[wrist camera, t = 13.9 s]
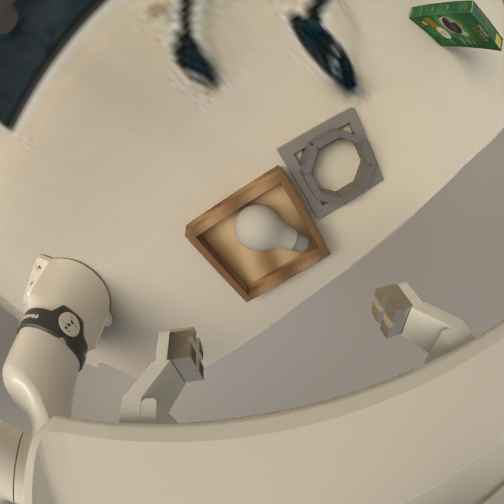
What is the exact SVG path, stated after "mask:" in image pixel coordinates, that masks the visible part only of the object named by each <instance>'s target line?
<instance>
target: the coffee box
mask: <svg viewBox="0 0 504 504" xmlns="http://www.w3.org/2000/svg"><path fill="white" fill-rule="evenodd" d="M409 18H410V19H412V20H413V21H414V22H415V23H416V24H417V25H419V26H420V27H421V28H423V29H424V30H425V31H426V32H427V33H428V34H429V35H431V36H432V37H433V38H434V39H435V40H436V41H437V42H438V43H439V44H440V45H441V46H460V47H473V48H484V49H492V50H499V51H501V49H502V42H503V38H502V37H501V36H500V34H499V33H498V31H497V30H496V29H495V27H494V26H493V25H492V23H491V22H490V21H489V19H488V18H487V17H486V16H485V14H484V13H483V12H482V11H481V9H480V8H479V7H478V6H477V5H476V3H475V2H474V1H473V0H467V1H453V2H444V3H436V4H428V5H423V6H417V7H412V9H411V12H410V14H409Z"/></svg>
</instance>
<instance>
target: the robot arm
mask: <svg viewBox="0 0 504 504" xmlns="http://www.w3.org/2000/svg"><path fill="white" fill-rule="evenodd" d="M375 297H376V299H375V300H374V301H373V305H372V312H373V315H374V318H375V320H376V321H377V322H379V323H381V327H380V329H381V330H382V332H383V334H384V336H385V337H386V338H389V337H392V336H396V335H399V334H402V335H403V336H404V337H405V338H407V339H409V340H410V341H411V342H413V343H414V344H416V345H417V346H419V347H420V348H421V349H423V350H424V351H426V352H427V353H428V354H429V355H428V356H427V358H426V360H425V362H424V365H422V366H420V367H417V368H415V369H413V370H410V371H408V372H406V373H403V374H401V375H399V376H396V377H393V378H391V379H389V380H386V381H383V382H380V383H378V384H375V385H372V386H370V387H367V388H363V389H360V390H358V391H354V392H351V393H348V394H345V395H342V396H338V397H335V398H331V399H328V400H324V401H320V402H316V403H312V404H308V405H304V406H300V407H296V408H291V409H286V410H281V411H276V412H271V413H265V414H260V415H253V416H247V417H240V418H232V419H224V420H214V421H203V422H189V423H178V422H177V421H176V420H175V419H174V418H173V417H172V416H171V415H170V414H169V413H168V412H169V411H170V409H171V407H172V405H173V404H174V402H175V400H176V399H177V397H178V395H179V393H180V392H181V390H182V388H183V387H184V385H185V382H190V381H197V380H203V379H204V378H203V376H204V375H203V365H202V363H201V361H202V360H203V350H202V345H201V342H200V340H199V338H197V337H196V331H195V329H194V327H190V328H181V329H172V330H164V331H160V332H159V335H158V342H157V350H156V357H155V361H152V362H151V363H150V365H149V366H148V367H147V368H146V370H145V371H144V372H143V373H142V374H141V376H140V377H139V378H138V379H137V381H136V382H135V383H134V384H133V386H132V387H131V388H130V389H129V391H128V392H127V393H126V394H125V395H124V397H123V399H122V406H121V413H120V421H119V423H117V422H103V421H93V420H84V419H76V418H72V403H73V394H74V388H75V384H76V379H77V375H78V372H79V371H80V370H81V369H82V367H83V365H84V363H85V360H86V355H87V351H90V350H92V349H95V348H96V346H97V343H98V341H99V338H100V336H101V333H102V331H103V328H105V327H108V326H110V325H111V324H112V322H113V318H112V315H111V313H110V311H109V306H110V298H109V293H108V291H107V288H106V287H105V285H104V283H103V282H102V280H101V279H100V278H99V277H98V276H97V275H96V274H95V273H94V272H93V271H92V270H91V269H89V268H88V267H86V266H85V265H83V264H81V263H79V262H77V261H74V260H70V259H52V258H49V257H47V256H44V255H39V256H38V257H37V259H36V261H35V264H34V267H33V269H32V272H31V275H30V278H29V281H28V284H27V287H26V290H25V293H24V296H23V303H24V305H25V309H24V313H23V317H22V319H21V321H20V323H19V327H18V329H17V337H16V339H15V341H14V343H13V346H12V348H11V350H10V352H9V354H8V357H7V359H6V361H5V364H4V367H3V381H4V384H5V387H6V389H7V391H8V392H9V394H10V395H11V397H12V398H13V400H14V401H15V402H16V404H17V405H18V406H19V407H20V408H21V410H22V411H23V412H24V413H25V414H26V416H27V417H28V419H29V421H30V424H31V427H32V429H31V431H30V432H29V433H27V432H23V431H21V430H19V429H17V428H16V427H13V426H12V425H10V424H8V423H7V422H5V421H3V420H2V419H0V504H504V320H503V321H501V322H500V323H498V324H497V325H495V326H494V327H492V328H490V329H489V330H487V331H486V332H484V333H483V334H481V335H479V336H477V337H476V338H475V337H474V336H473V334H472V333H471V332H470V330H469V329H468V328H467V326H466V325H465V323H464V322H463V321H462V320H460V319H458V318H456V317H454V316H452V315H450V314H448V313H446V312H444V311H442V310H440V309H438V308H436V307H434V306H432V305H430V304H428V303H425V302H424V303H422V302H421V300H420V299H419V298H418V296H417V295H416V294H415V292H414V291H413V290H412V289H411V287H410V286H409V285H408V284H407V282H405V281H402V282H398V283H395V284H391V285H388V286H385V287H381V288H377V289H376V291H375Z"/></svg>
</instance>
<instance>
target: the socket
mask: <svg viewBox="0 0 504 504" xmlns="http://www.w3.org/2000/svg"><path fill="white" fill-rule="evenodd" d="M347 123H348V125H349V127H350V129H351V131H352V133H350V132H347V131H344V130H341V129H338V128H340V127H342V126H344V125H346V124H347ZM339 137H341V138H344V139H347V140H350V141H353V143H354V145H355V147H356V150H357V152H358V154H359V157H360V159H361V162H360V165H359V168H358V171H357V174H356V176H355V179H354V181H353V182H351V183H349V184H348V185H346V186H344V187H343V188H341V189H340V190H338V191H336V192H335V191H330V190H326V189H322V188H319V187H318V185H317V183H316V182H315V180H314V178H313V176H312V174H311V172H312V169H313V165H314V162H315V159H316V155H317V152H318V149H320V148H321V147H323V146H325V145H327V144H328V143H330V142H332V141H334V140H335V139H337V138H339ZM301 149H303V152H302V155H301V159H300V162H298V161H297V159H296V157H295V155H294V154H295V153H296V152H298V151H300V150H301ZM277 151H278V152H279V154H280V155H281V157H282V159H283V160H284V162H285V164H286V165H287V167H288V168H289V170H290V172H291V173H292V175H293V177H294V179H295V180H296V182H297V184H298V185H299V187H300V189H301V190H302V192H303V194H304V196H305V197H306V199H307V201H308V203H309V204H310V206H311V208H312V210H313V212H314V213H315V215H316V217H317V218H318V219H320V218H322V217H323V216H325V215H326V214H328V213H330V212H331V211H333V210H335V209H336V208H338V207H340V206H341V205H343V204H346V203H348V202H349V201H351V200H353V199H354V198H356V197H357V196H359V195H361V194H362V193H364V192H366V190H367V189H369V188H371V187H372V186H374V185H376V184H377V183H379V182H381V181H382V180H383V177H382V174H381V172H380V169H379V166H378V164H377V161H376V158H375V156H374V153H373V151H372V148H371V146H370V143H369V141H368V139H367V136H366V134H365V132H364V129H363V127H362V125H361V123H360V121H359V118H358V116H357V114H356V112H355V110H354V108H349V109H347V110H345V111H344V112H342V113H340V114H338V115H336V116H334V117H332V118H330V119H329V120H327V121H325V122H323V123H321V124H319V125H318V126H316V127H314V128H312V129H311V130H309V131H307V132H305V133H304V134H302V135H300V136H298V137H297V138H295V139H293V140H291V141H290V142H288V143H286V144H285V145H283V146H281V147H280V148H278V149H277ZM320 200H321V201H325V202H324V203H322V204H321V202H320Z"/></svg>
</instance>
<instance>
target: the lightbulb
mask: <svg viewBox="0 0 504 504" xmlns="http://www.w3.org/2000/svg"><path fill="white" fill-rule="evenodd" d="M234 232H235V236H236V238H237V240H238V241H239V243H240V244H241V245H243V246H244V247H245V248H247V249H249V250H252V251H263V250H268V249H283V250H287V251H289V250H292V251H296V252H299V253H303V252H304V251H305V250H306V249H308V247H309V239H308V237H307V236H305V235H303V234H301V233H299V232H297V231H296V230H295V229H294V228H292V227H290V226H288V225H287V224H285V223H284V222H283V221H282V220H281V218H280V217H279V216H278V214H277V213H276V212H275V211H274V210H273V209H271V208H270V207H269V206H266V205H262V204H253V205H250V206H247V207H245V208H244V209H243V210H241V211H240V212H239V214H238V215H237V217H236V219H235V223H234Z"/></svg>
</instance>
